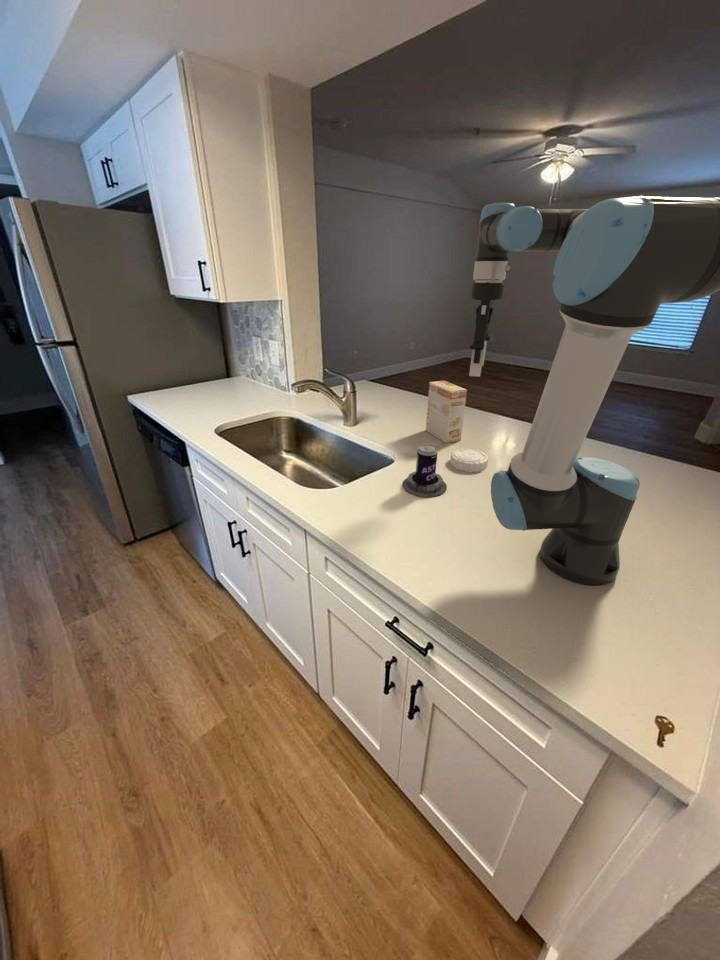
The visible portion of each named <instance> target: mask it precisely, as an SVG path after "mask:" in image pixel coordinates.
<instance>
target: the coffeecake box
mask: <svg viewBox="0 0 720 960" xmlns="http://www.w3.org/2000/svg"><path fill="white" fill-rule="evenodd" d="M428 384H429V385H428V398H427V406H426V407H427V408H426V409H427V410H426V420H425V421H426V422H425V431H427V432H428V433H429V434H431V435H432V436H434V437H436V438H437V439H439V440H440V441H442V442H443V443H447V444H448V443H454V442H460V441H462V431H463V425H464V416H465V410H466V409H465V407H466V402H467V394H468V389H466V388H463V387H461V386H458V385H456V384H454V383H451V382H449V381H446V380H437V381H436V380H435V381H429V383H428Z"/></svg>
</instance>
